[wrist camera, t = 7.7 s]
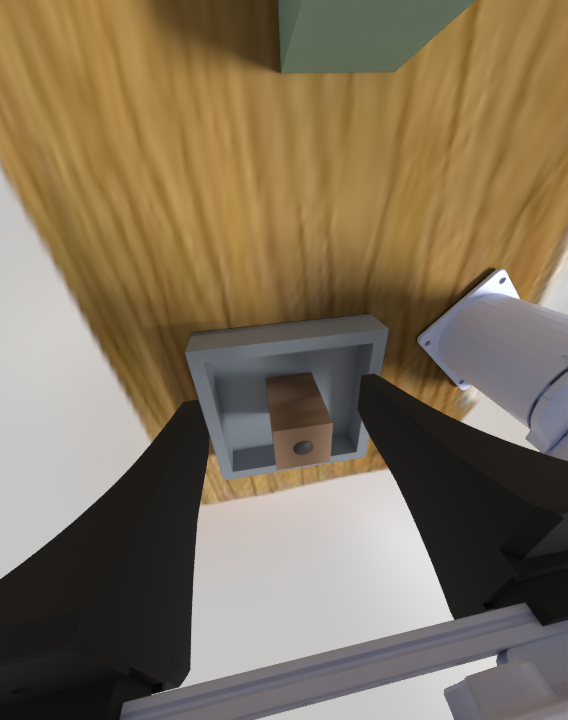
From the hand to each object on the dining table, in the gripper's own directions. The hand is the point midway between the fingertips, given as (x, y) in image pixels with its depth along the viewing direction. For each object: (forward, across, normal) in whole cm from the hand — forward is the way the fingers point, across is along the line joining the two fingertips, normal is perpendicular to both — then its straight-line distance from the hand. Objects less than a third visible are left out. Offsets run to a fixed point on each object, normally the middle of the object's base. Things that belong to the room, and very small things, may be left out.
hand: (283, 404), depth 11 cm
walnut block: (+9, -1, +7) cm, 11 cm away
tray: (+10, -1, +7) cm, 12 cm away
